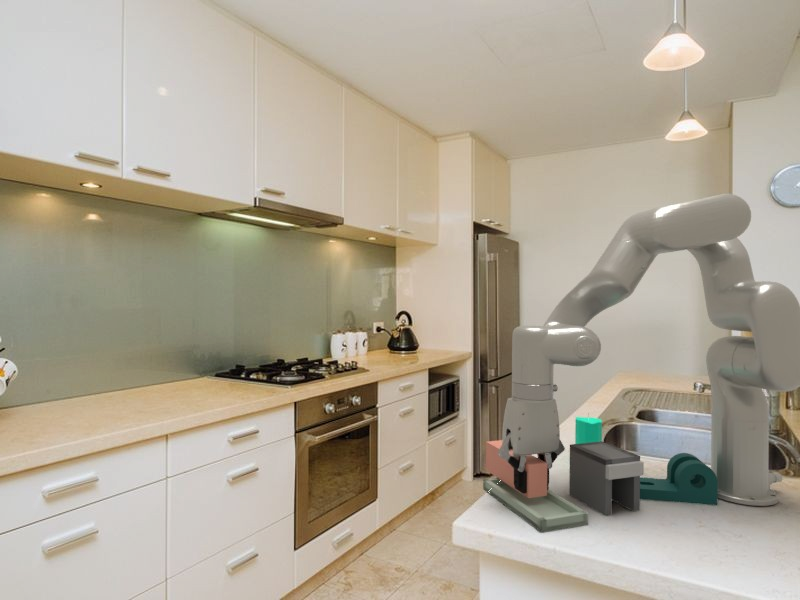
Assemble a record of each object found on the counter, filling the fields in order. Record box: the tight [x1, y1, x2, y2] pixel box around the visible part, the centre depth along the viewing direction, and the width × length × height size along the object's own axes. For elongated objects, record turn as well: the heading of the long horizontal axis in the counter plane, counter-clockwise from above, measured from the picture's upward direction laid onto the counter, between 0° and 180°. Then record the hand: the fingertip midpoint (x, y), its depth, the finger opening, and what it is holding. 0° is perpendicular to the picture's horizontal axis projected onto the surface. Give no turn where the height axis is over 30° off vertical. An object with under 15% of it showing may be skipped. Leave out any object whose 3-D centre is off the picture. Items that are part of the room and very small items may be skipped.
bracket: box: [640, 452, 718, 506], centre depth 100 cm, size 18×7×8 cm, turn 79°
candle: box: [574, 412, 603, 444], centre depth 119 cm, size 6×6×12 cm
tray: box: [482, 477, 589, 534], centre depth 94 cm, size 9×20×2 cm, turn 19°
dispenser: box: [568, 440, 644, 517], centre depth 95 cm, size 11×8×10 cm
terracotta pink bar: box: [485, 439, 547, 498], centre depth 99 cm, size 4×16×6 cm, turn 19°
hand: (531, 488), depth 94 cm, fingers closed on terracotta pink bar, 4 cm apart
